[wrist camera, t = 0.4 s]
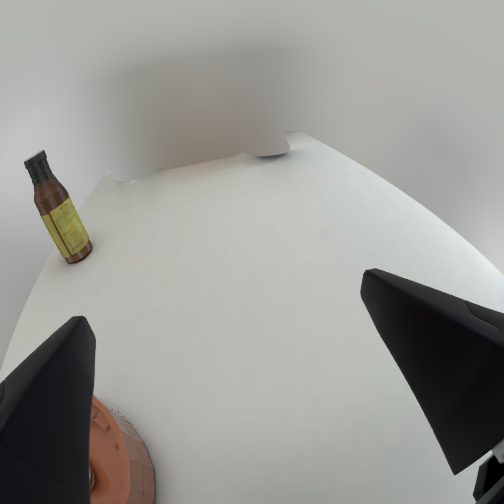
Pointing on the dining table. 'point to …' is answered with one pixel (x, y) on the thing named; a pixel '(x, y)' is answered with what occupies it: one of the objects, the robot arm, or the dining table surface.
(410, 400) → the dining table surface
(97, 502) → the bowl
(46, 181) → the sauce bottle
